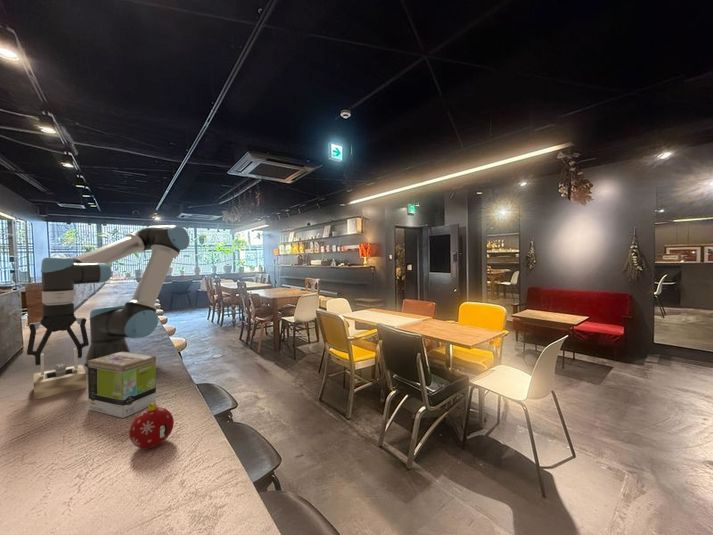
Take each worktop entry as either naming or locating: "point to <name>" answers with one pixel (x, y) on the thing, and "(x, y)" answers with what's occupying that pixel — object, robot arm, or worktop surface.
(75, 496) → the worktop surface
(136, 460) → the worktop surface
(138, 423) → the christmas ornament
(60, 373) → the rook chess piece
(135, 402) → the tea box
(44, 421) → the worktop surface
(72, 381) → the socket block
